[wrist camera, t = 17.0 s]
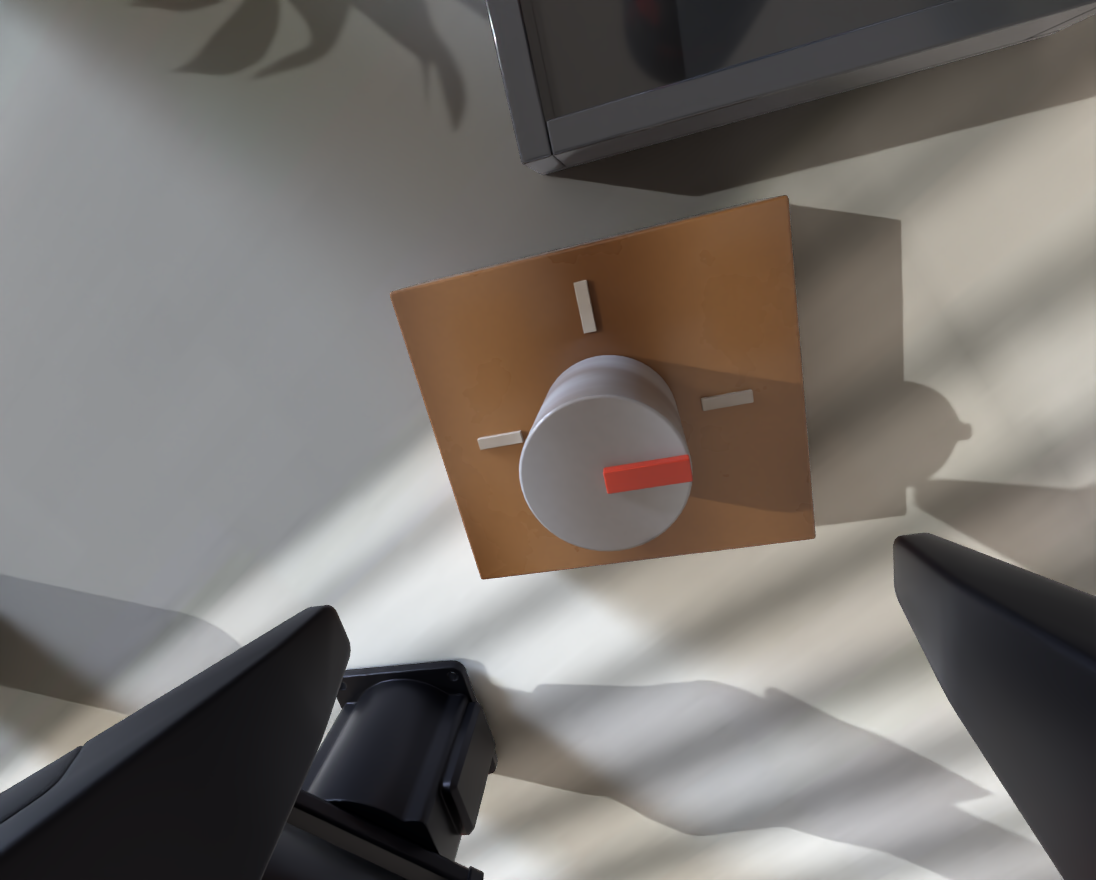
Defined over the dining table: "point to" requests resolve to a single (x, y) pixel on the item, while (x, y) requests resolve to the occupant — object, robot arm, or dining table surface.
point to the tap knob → (607, 456)
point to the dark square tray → (722, 60)
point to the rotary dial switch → (635, 332)
